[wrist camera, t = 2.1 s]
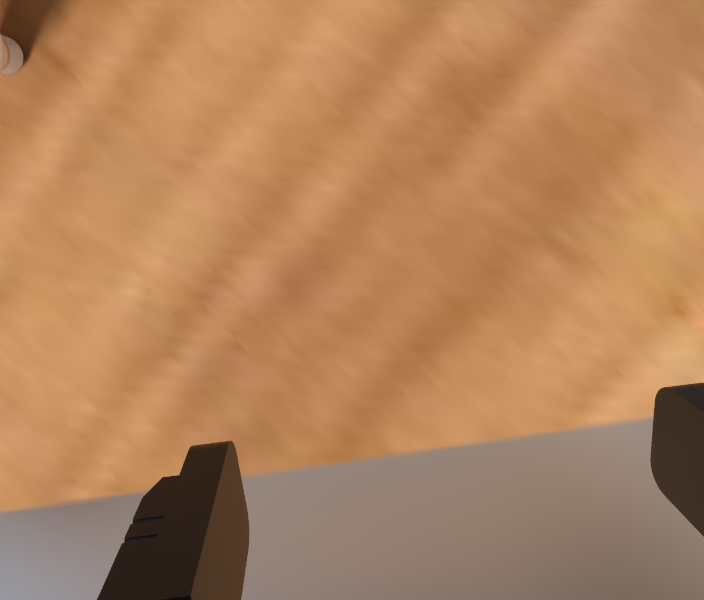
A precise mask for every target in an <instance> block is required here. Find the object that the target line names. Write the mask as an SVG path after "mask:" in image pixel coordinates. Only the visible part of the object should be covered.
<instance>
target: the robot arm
mask: <svg viewBox="0 0 704 600" xmlns="http://www.w3.org/2000/svg"><path fill="white" fill-rule="evenodd" d="M651 468H652V473H653V476H654V479H655V481H656V483H657V485H658V487H659V489H660V490H661V491H662V492H663V494H664V495H665V496H666V497H667V498H668V499H669V500H670V502H671V503H672V504H673V505H674V506H675V507H676V508H677V509H678V510H679V511H680V512H681V513H682V514H683V515H684V516H685V517H686V518H687V520H688V521H689V522H690V523H691V524H692V525H693V526H694V527H695V528H696V529H697V530H698V531H699V532H700V533H701V534H702V535H703V536H704V383H696V384H688V385H680V386H672V387H664V388H661V389H660V390H659V391H658V393H657V395H656V398H655V407H654V420H653V433H652V447H651ZM248 548H249V520H248V512H247V506H246V501H245V496H244V490H243V485H242V480H241V474H240V469H239V464H238V458H237V453H236V449H235V446H234V443H233V442H232V441H226V442H218V443H210V444H202V445H194V446H191V447H190V448H189V451H188V453H187V456H186V459H185V461H184V464H183V467H182V470H181V472H180V475H178V476H170V477H163V478H162V479H161V480H160V481H159V482H158V483H157V484H156V485H155V486H154V487H153V488H152V489H151V490H150V491H149V492H148V493H147V494H146V495H145V496H144V497H143V498H142V500H141V502H140V505H139V507H138V509H137V511H136V513H135V516H134V518H133V524H131V525H130V527H129V529H128V531H127V534H126V536H125V542H124V543H122V545H121V547H120V550H119V552H118V554H117V556H116V558H115V561H114V563H113V565H112V567H111V570H110V572H109V574H108V577H107V579H106V581H105V583H104V585H103V588H102V590H101V592H100V594H99V597H98V599H97V600H241V597H242V590H243V583H244V576H245V569H246V562H247V555H248Z"/></svg>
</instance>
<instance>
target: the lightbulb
mask: <svg viewBox="0 0 704 600" xmlns="http://www.w3.org/2000/svg"><path fill="white" fill-rule="evenodd" d="M22 64H23V52H22V50H21V48H20V46H19V45H18V44H17V43H16V42H15V41H14V40H13V39H11V38H9V37H6V36H3V35H1V33H0V73H2V74H13V73H16V72H17V71H18V70H19V69H20V68H21V67H22Z"/></svg>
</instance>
